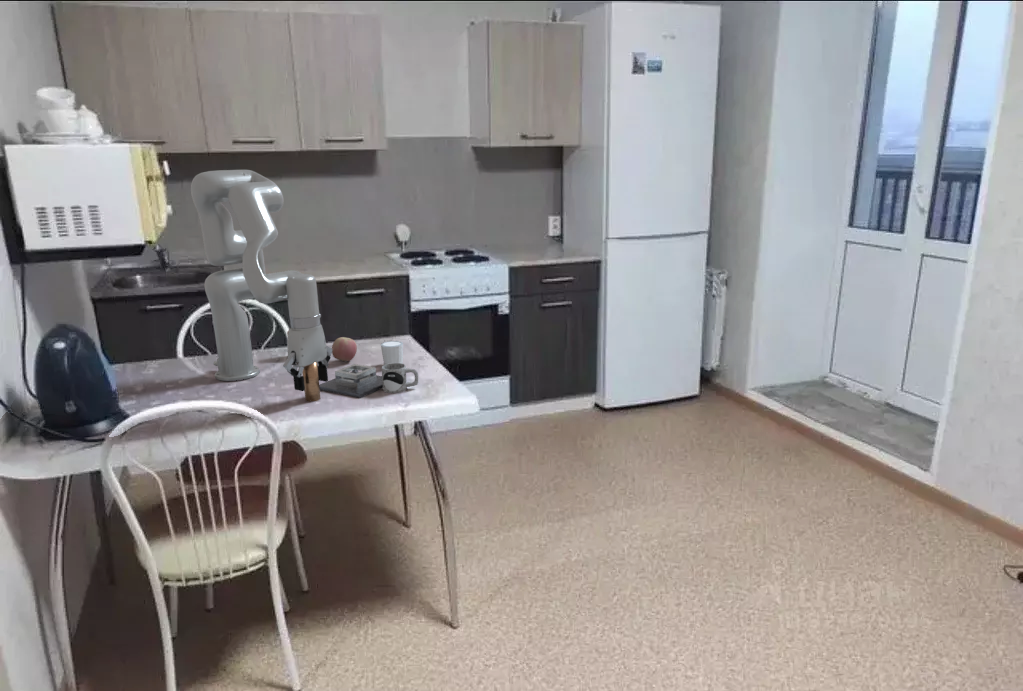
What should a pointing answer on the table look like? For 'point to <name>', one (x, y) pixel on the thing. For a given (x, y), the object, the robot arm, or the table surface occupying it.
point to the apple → (344, 349)
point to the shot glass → (392, 352)
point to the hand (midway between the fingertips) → (311, 385)
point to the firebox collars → (354, 381)
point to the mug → (397, 377)
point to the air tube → (311, 383)
